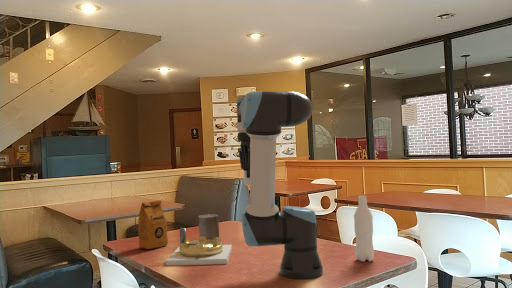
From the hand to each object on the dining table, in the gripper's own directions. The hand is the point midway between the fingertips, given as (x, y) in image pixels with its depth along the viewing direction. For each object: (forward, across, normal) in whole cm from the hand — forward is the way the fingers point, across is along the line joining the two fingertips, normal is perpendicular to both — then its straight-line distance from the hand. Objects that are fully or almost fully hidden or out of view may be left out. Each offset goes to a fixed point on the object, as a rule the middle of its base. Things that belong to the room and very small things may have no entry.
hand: (247, 185), depth 177 cm
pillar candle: (+29, +24, +10) cm, 39 cm away
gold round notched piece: (+27, +3, +22) cm, 35 cm away
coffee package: (+29, +33, +34) cm, 56 cm away
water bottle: (+29, -40, -30) cm, 58 cm away
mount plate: (+29, +3, +22) cm, 36 cm away
